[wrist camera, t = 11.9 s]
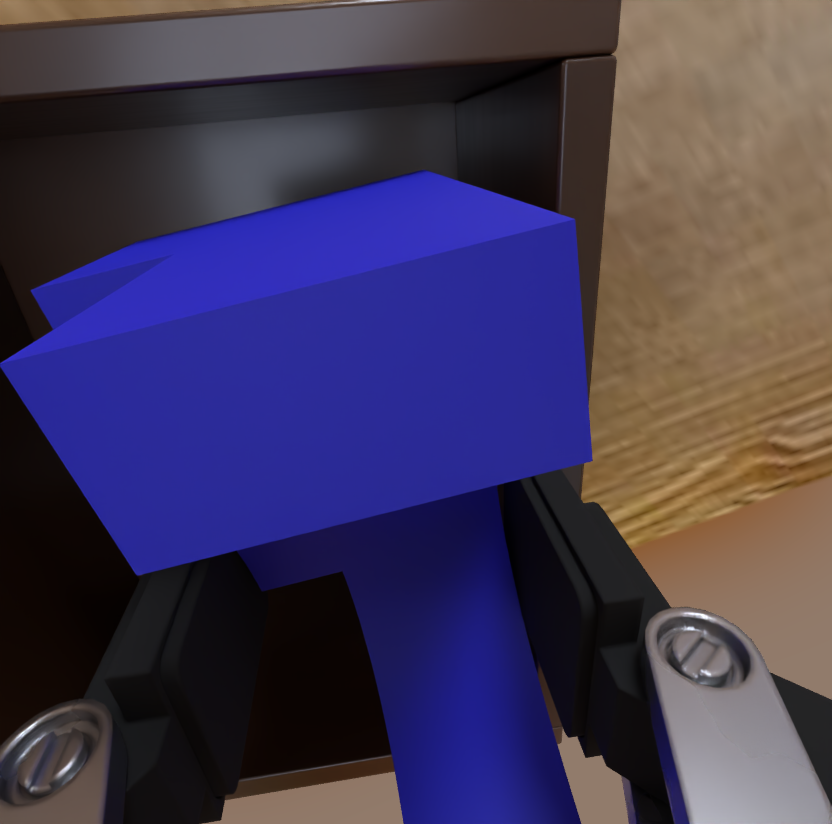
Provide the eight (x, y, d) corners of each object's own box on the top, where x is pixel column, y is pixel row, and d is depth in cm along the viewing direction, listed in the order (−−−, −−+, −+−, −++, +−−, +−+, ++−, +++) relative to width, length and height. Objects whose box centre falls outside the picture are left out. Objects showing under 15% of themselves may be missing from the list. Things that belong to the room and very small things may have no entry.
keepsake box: (476, 67, 14) (626, -24, 7) (487, 533, 22) (562, 744, 14) (-79, 113, 14) (-657, 71, 6) (133, 583, 21) (8, 837, 13)
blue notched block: (136, 241, 8) (-291, 437, 3) (423, 169, 8) (576, 220, 3) (351, 708, 14) (354, 1073, 8) (520, 666, 14) (631, 1002, 8)
